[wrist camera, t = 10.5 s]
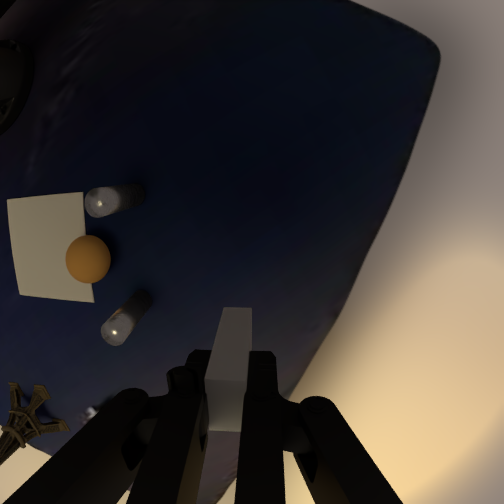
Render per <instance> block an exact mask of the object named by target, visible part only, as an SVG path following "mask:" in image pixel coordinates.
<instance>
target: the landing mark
mask: <svg viewBox="0 0 504 504" xmlns="http://www.w3.org/2000/svg"><path fill="white" fill-rule="evenodd" d="M7 206H8V218H9V229H10V238H11V245H12V253H13V259H14V266H15V272H16V277H17V282H18V288H19V292H20V295H27V296H35V297H44V298H53V299H63V300H73V301H83V302H94V295H93V289H92V283H82V282H79V281H77V280H76V279H74V278H73V277H72V276H71V274H70V273H69V271H68V269H67V267H66V261H65V257H66V252H67V249H68V247H69V245H70V244H71V243H72V242H73V241H74V240H75V239H76V238H78V237H81V236H84V235H86V229H85V216H84V198H83V192H77V193H65V194H54V195H44V196H34V197H25V198H16V199H8V200H7Z"/></svg>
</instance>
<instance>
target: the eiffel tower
mask: <svg viewBox="0 0 504 504" xmlns="http://www.w3.org/2000/svg"><path fill="white" fill-rule="evenodd" d="M9 384H10V386H11V389H10V398H11V410H9V412H10V416H9V420H8V422H7V424H6V426H2V428H1V430H2V431H3V433H2V435H1V437H0V465H1V464H2V463H3V462H4V461H6V459H8V458H9V457H10V456H11V455H12V454H13V453H14V452H15V451H16V450H17V449H18V448H19V447H21V448H25V447H26V445H25V443H26V442H28V441H29V440H30V439H32V438H34V437H36V436H39V437H41V434H43V433H52V432H59V431H63V430H65V431H70V429H69V428H68V426H67V424H66V423H65V421H64V420H62V419H55V418H53V419H52V421H53V422H49V423H40V421H39V420H38V418H37V416H36V415H35V410H36V409H37V408H38V407H39V406H40V405H41V404H42V403H43V402H44V401H45V400H46V399H47V400H48V399H51V397H50V395H49V393H48V392H47V390H46V388H45V386H44V385H34V391H33V394H32V398H31V402H30V405H29V406H28V407H21V396H23V395H24V394H23V392H22V390H21V389H20V387H19V385H18V383H15V382H9ZM15 421H16V424H15V425H14V423H15ZM13 425H14V426H13ZM25 433H27V434H25ZM24 434H25V435H24ZM23 435H24V436H23Z"/></svg>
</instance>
